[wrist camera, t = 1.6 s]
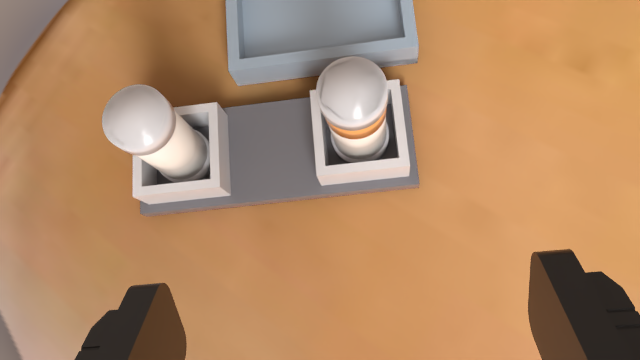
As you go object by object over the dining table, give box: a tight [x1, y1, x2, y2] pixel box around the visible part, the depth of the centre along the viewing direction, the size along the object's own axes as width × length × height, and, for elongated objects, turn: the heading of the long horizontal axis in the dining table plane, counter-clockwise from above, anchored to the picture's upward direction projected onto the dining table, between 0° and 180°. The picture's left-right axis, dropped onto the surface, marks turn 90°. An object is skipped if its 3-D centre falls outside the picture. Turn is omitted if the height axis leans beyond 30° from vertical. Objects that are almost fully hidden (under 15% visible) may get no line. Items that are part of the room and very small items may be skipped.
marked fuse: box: [316, 56, 389, 164], centre depth 34 cm, size 4×4×8 cm
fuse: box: [102, 84, 210, 183], centre depth 35 cm, size 4×4×8 cm
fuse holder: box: [133, 79, 419, 217], centre depth 38 cm, size 19×7×4 cm, turn 95°
